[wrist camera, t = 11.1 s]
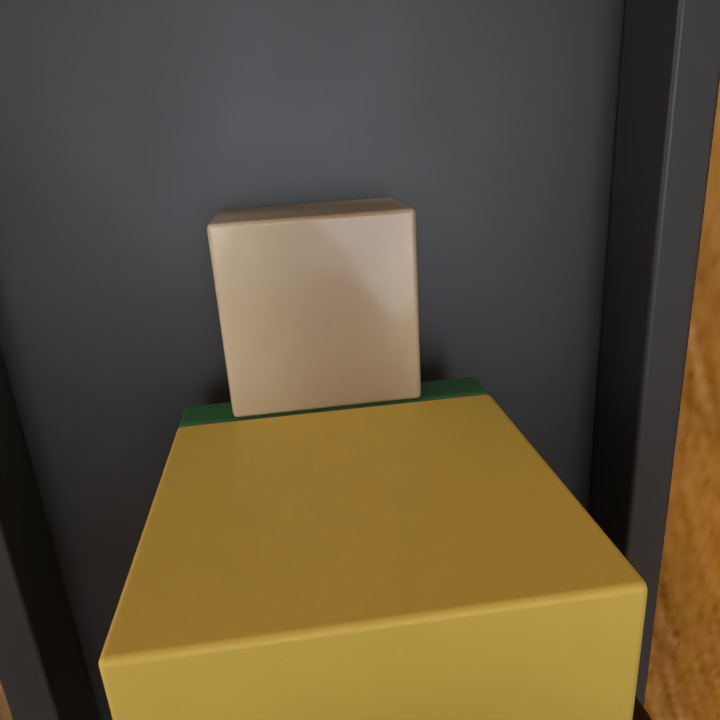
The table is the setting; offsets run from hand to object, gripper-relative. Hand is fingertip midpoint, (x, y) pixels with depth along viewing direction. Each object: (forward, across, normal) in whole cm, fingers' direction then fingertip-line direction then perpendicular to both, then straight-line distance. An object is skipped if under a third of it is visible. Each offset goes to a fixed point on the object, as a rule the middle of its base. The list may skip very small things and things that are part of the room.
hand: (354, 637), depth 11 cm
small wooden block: (+2, 0, -6) cm, 6 cm away
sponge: (+1, 0, 0) cm, 1 cm away
